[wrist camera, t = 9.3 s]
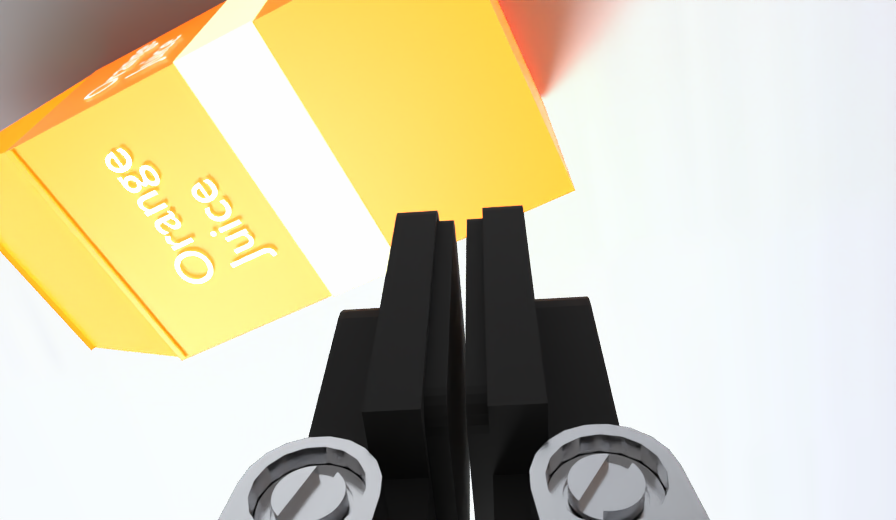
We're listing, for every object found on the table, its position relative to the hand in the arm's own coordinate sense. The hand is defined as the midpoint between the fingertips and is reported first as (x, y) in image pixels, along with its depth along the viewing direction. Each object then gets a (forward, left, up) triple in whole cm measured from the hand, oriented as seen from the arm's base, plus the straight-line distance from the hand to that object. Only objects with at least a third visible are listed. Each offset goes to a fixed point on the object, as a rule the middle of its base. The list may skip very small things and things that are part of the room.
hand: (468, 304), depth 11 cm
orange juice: (-2, +1, -17) cm, 17 cm away
